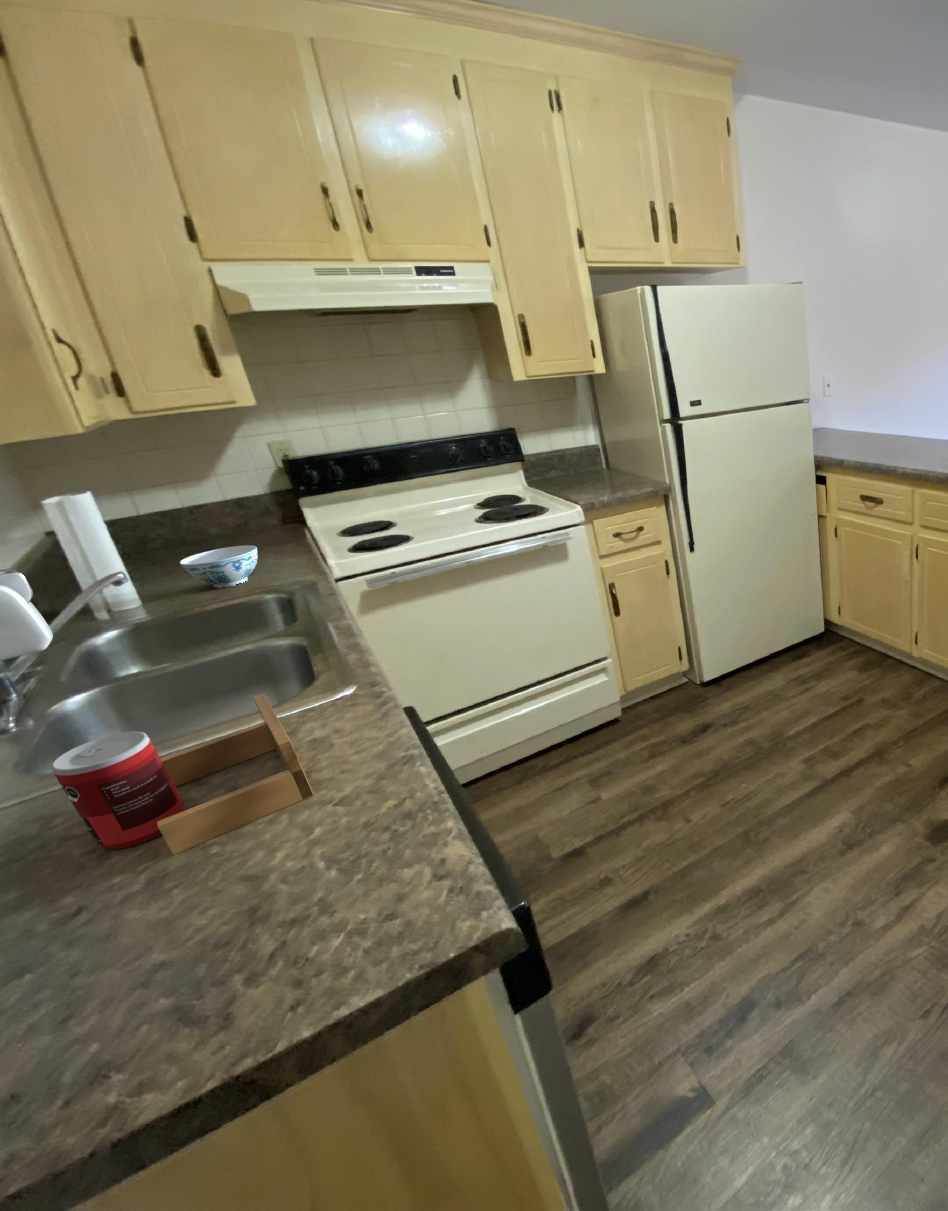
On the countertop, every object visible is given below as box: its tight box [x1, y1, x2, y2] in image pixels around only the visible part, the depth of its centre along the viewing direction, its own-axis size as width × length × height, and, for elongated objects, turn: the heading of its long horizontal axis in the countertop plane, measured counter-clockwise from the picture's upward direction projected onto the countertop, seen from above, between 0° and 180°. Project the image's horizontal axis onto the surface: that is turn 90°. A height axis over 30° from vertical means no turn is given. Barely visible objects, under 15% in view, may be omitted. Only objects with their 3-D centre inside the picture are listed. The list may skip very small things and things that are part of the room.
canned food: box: [50, 731, 186, 850], centre depth 75 cm, size 8×8×11 cm
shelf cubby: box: [157, 693, 315, 856], centre depth 82 cm, size 13×18×8 cm
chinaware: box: [179, 545, 259, 589], centre depth 166 cm, size 15×15×8 cm
